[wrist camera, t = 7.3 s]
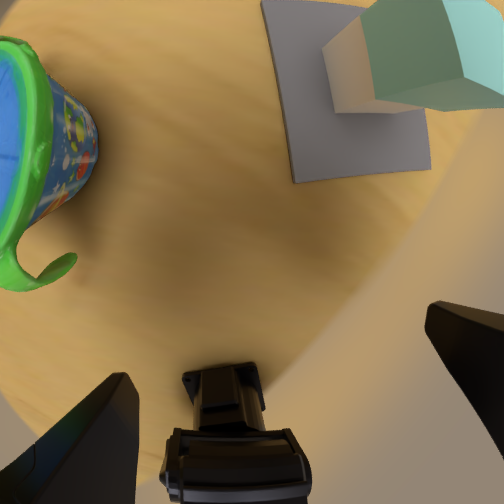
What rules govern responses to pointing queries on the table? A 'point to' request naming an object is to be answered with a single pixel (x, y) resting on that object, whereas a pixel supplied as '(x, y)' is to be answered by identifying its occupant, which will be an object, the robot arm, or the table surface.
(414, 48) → the teal block
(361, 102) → the white block
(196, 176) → the table surface
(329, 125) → the mat
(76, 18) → the table surface
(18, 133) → the snack cup
